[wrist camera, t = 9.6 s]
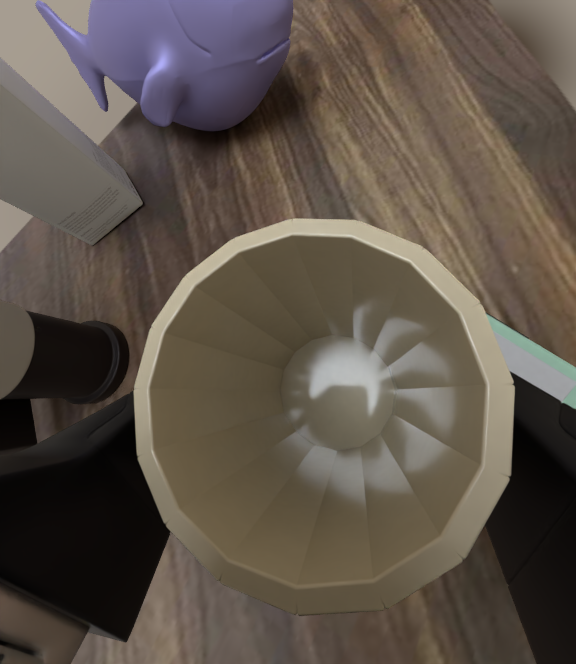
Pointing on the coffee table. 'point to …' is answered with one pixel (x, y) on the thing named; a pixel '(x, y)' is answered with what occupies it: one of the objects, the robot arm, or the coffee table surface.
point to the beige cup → (324, 416)
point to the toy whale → (182, 55)
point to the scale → (535, 363)
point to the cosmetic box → (57, 166)
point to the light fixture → (52, 367)
